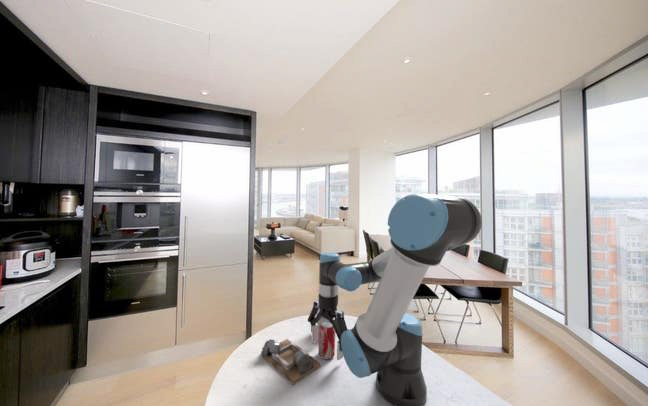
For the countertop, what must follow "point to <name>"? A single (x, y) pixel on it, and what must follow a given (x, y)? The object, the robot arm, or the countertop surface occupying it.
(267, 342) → the shaft
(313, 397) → the countertop surface
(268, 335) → the countertop surface
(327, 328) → the beverage can
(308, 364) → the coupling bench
